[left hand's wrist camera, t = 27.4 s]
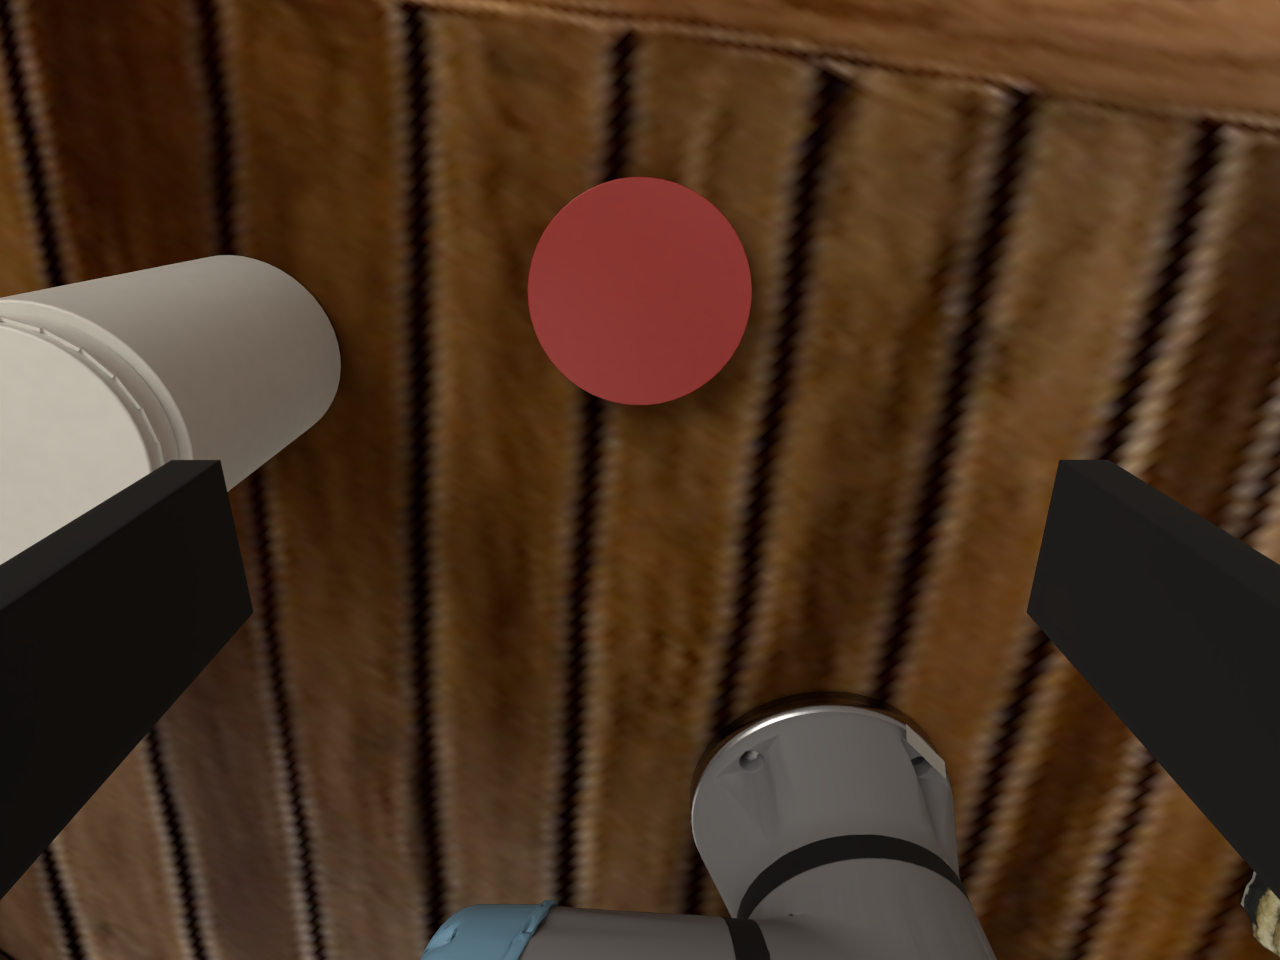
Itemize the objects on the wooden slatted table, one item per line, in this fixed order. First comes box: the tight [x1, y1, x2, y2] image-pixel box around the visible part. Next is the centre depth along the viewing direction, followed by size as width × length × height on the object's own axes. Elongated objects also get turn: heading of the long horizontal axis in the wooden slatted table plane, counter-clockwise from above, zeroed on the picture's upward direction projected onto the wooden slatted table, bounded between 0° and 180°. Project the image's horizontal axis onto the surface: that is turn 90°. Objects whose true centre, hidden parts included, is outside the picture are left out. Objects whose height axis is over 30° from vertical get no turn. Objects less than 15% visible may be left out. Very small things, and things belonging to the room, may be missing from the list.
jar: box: [0, 255, 341, 565], centre depth 30 cm, size 9×9×15 cm
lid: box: [528, 177, 752, 405], centre depth 35 cm, size 10×10×2 cm
